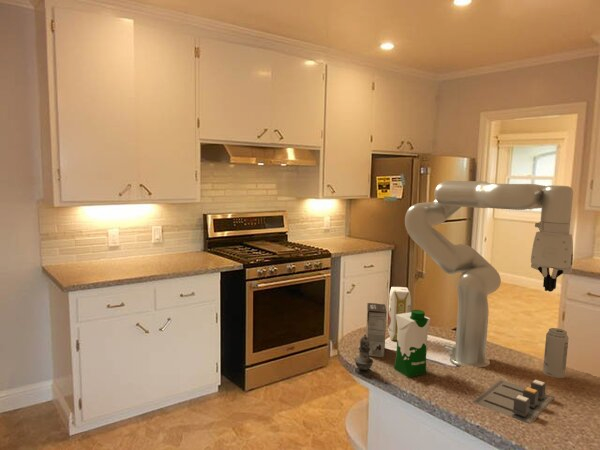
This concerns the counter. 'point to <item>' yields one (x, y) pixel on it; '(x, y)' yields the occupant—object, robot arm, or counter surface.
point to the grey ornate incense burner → (364, 358)
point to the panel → (510, 400)
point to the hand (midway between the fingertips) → (549, 290)
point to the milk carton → (412, 343)
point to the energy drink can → (555, 353)
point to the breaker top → (539, 388)
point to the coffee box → (376, 328)
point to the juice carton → (397, 308)
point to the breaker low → (521, 405)
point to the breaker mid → (531, 396)
